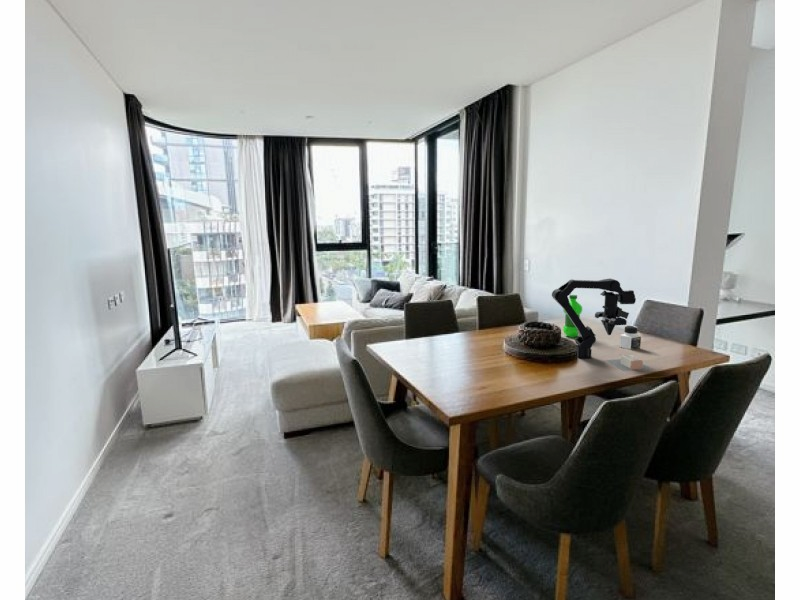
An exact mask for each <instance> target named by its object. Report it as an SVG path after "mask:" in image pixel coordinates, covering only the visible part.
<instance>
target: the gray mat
mask: <svg viewBox="0 0 800 600" xmlns="http://www.w3.org/2000/svg"><path fill="white" fill-rule="evenodd" d="M605 361H606V362H607V363H608V364H610V365H612V366H614V367H616V368H617V369H620V370H621V371H632V370H631V369H630V368H628V367H626V366H624V365H623V364H621V363H620V361H621V358H619V359H618V358H617V359H605ZM638 370H642V371H643V370H653V369H652V368H651V367H650V366H648V365H646V364H644V363H643V365H642V369H634V370H633V371H638Z"/></svg>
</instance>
